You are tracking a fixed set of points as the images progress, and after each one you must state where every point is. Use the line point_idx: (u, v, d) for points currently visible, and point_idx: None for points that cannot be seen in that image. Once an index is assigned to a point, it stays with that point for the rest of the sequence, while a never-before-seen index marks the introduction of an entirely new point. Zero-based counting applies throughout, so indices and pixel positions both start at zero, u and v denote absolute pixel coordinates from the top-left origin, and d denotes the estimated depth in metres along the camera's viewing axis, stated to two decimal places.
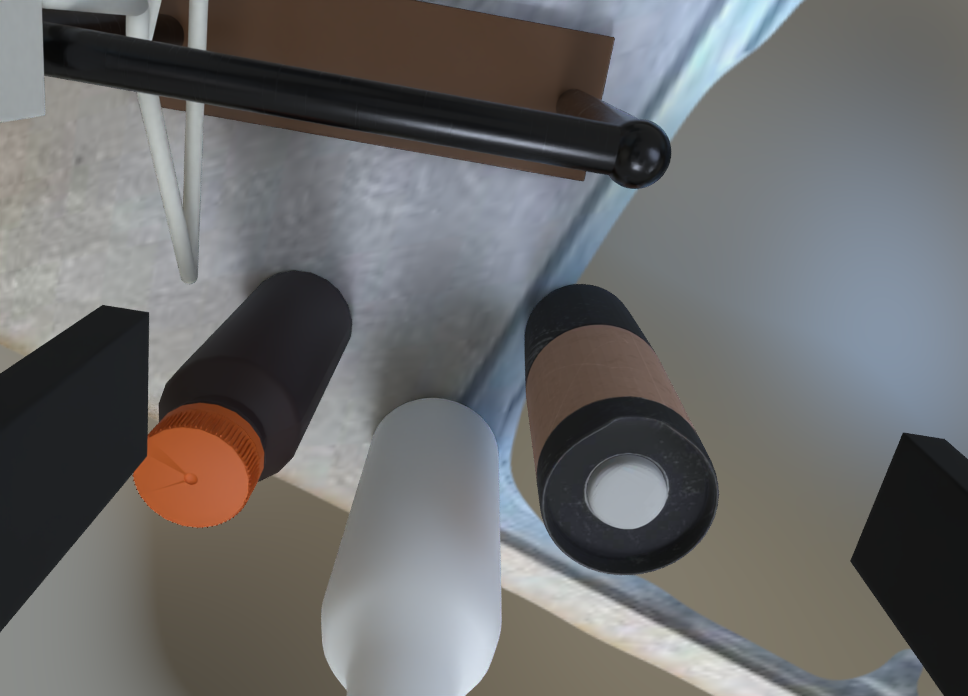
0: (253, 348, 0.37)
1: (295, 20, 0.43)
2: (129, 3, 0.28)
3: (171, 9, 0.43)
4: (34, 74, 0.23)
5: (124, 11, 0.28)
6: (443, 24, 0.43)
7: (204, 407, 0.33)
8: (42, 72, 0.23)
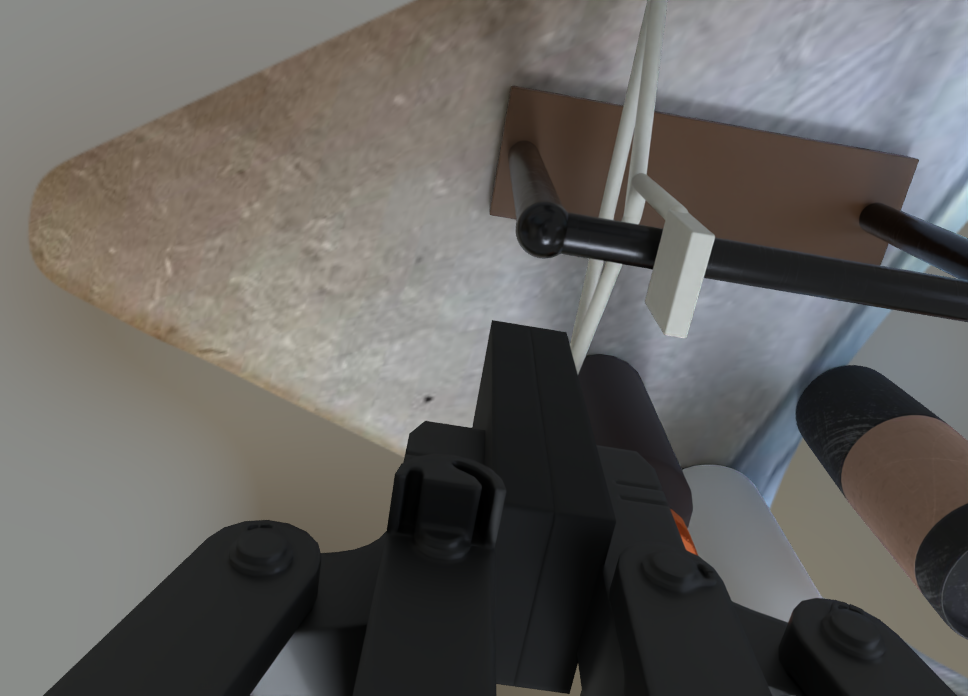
0: (650, 446, 0.43)
1: None
2: None
3: (532, 136, 0.48)
4: None
5: None
6: (769, 148, 0.49)
7: None
8: None
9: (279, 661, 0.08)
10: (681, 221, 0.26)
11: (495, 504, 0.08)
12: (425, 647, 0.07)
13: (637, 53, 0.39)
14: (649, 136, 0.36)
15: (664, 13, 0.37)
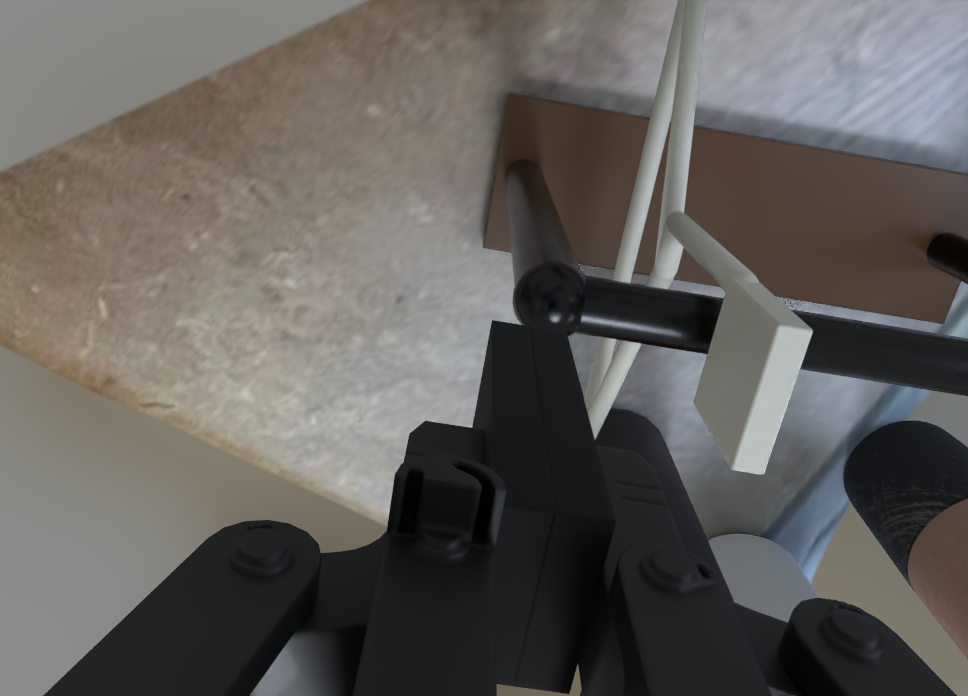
0: None
1: (663, 165, 0.40)
2: None
3: (533, 154, 0.40)
4: None
5: None
6: (821, 168, 0.40)
7: None
8: None
9: (280, 661, 0.08)
10: (755, 301, 0.18)
11: (495, 504, 0.08)
12: (425, 647, 0.07)
13: (668, 53, 0.31)
14: (687, 162, 0.28)
15: (705, 2, 0.29)
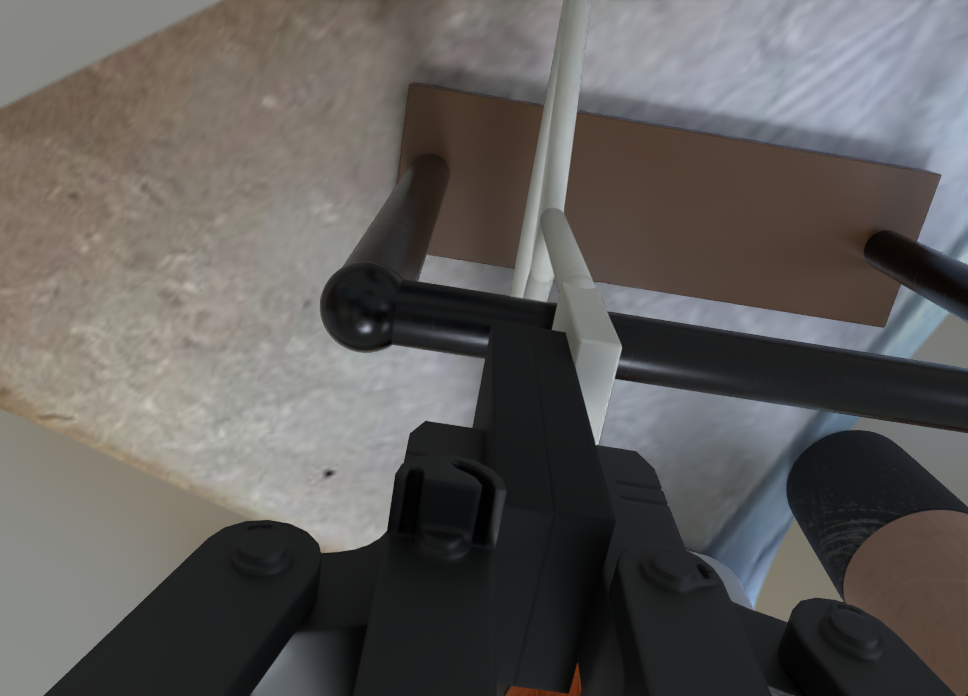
0: None
1: (578, 159, 0.37)
2: None
3: (439, 148, 0.37)
4: None
5: None
6: (747, 162, 0.37)
7: (577, 671, 0.27)
8: None
9: (280, 661, 0.08)
10: (572, 311, 0.15)
11: (496, 504, 0.08)
12: (426, 648, 0.07)
13: (558, 35, 0.28)
14: (568, 153, 0.25)
15: None
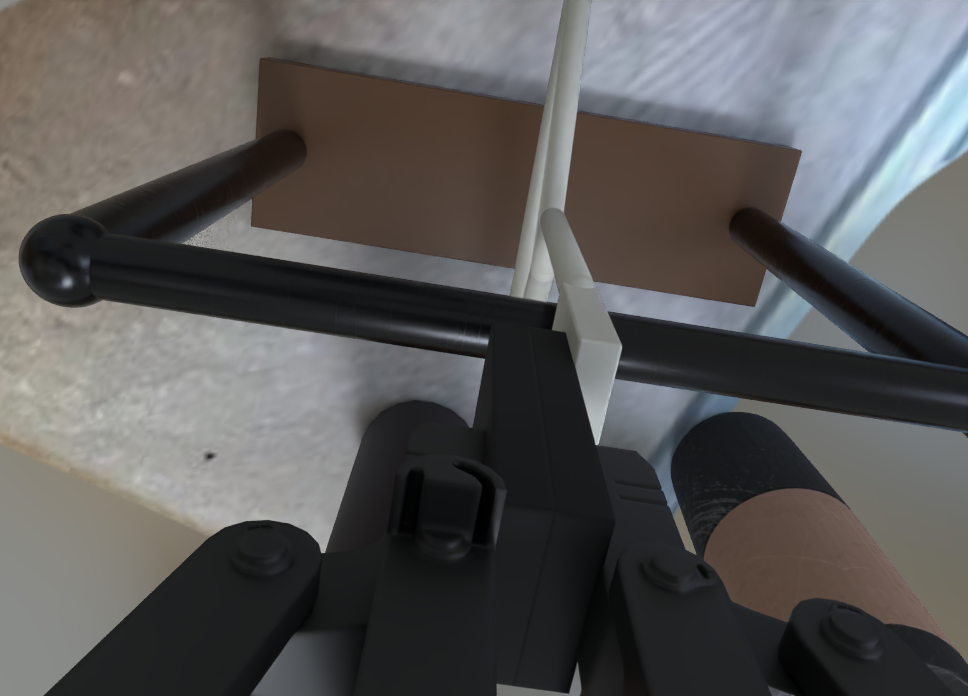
0: None
1: (435, 135, 0.37)
2: None
3: (293, 124, 0.37)
4: None
5: None
6: (605, 138, 0.37)
7: None
8: None
9: (280, 661, 0.08)
10: (572, 311, 0.15)
11: (496, 504, 0.08)
12: (426, 648, 0.07)
13: (558, 35, 0.28)
14: (568, 153, 0.25)
15: None
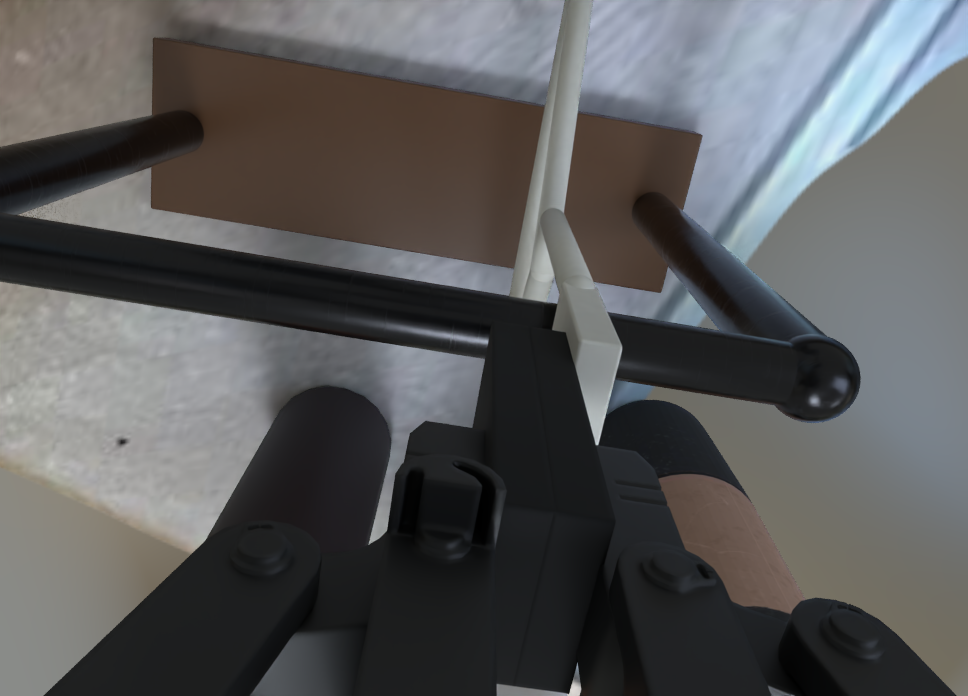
0: None
1: (332, 116, 0.37)
2: None
3: (189, 104, 0.37)
4: None
5: None
6: (504, 120, 0.37)
7: None
8: None
9: (280, 661, 0.08)
10: (572, 311, 0.15)
11: (495, 504, 0.08)
12: (425, 647, 0.07)
13: (559, 35, 0.28)
14: (568, 153, 0.25)
15: None
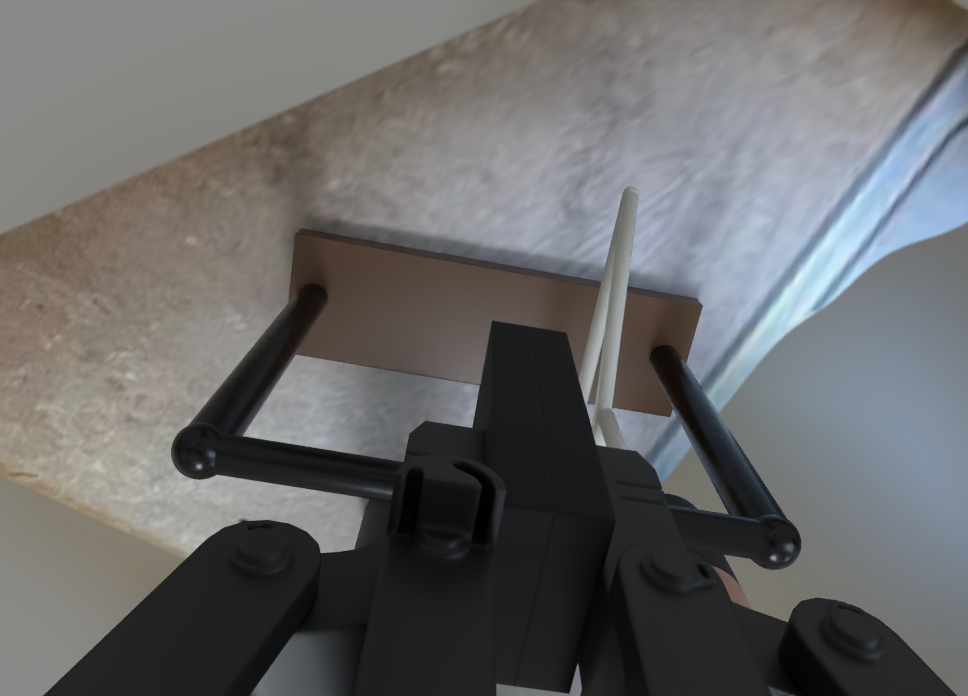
0: None
1: (425, 289, 0.49)
2: None
3: (319, 279, 0.49)
4: None
5: None
6: (554, 294, 0.49)
7: None
8: None
9: (279, 661, 0.08)
10: None
11: (495, 504, 0.08)
12: (425, 647, 0.07)
13: (605, 270, 0.40)
14: (615, 367, 0.37)
15: (631, 243, 0.38)
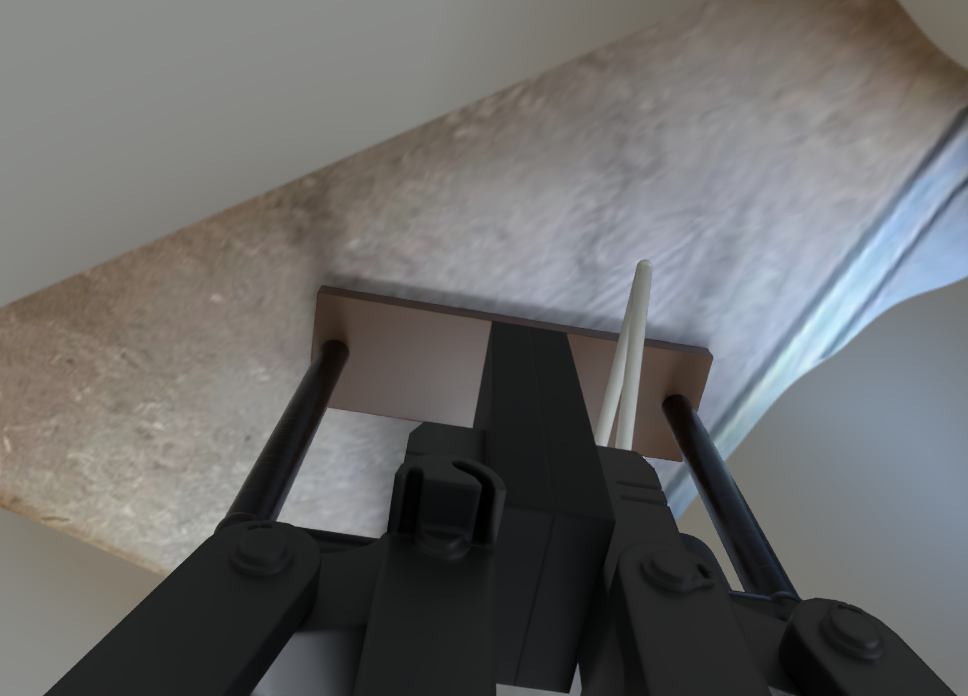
0: None
1: (444, 344, 0.51)
2: None
3: (340, 335, 0.50)
4: None
5: None
6: None
7: None
8: None
9: (279, 662, 0.08)
10: None
11: (495, 504, 0.08)
12: (425, 647, 0.07)
13: (620, 338, 0.42)
14: (631, 438, 0.39)
15: (645, 315, 0.40)
